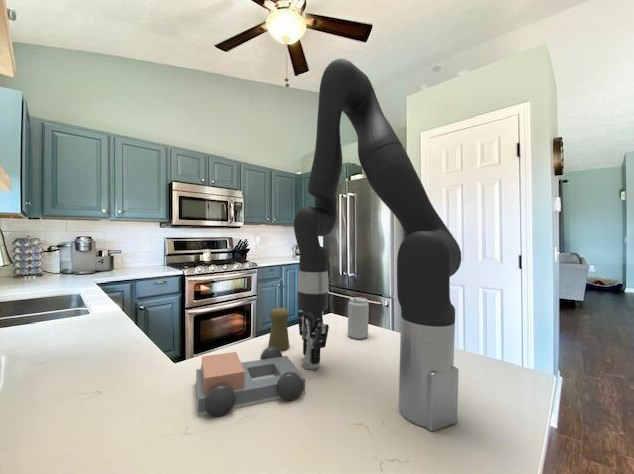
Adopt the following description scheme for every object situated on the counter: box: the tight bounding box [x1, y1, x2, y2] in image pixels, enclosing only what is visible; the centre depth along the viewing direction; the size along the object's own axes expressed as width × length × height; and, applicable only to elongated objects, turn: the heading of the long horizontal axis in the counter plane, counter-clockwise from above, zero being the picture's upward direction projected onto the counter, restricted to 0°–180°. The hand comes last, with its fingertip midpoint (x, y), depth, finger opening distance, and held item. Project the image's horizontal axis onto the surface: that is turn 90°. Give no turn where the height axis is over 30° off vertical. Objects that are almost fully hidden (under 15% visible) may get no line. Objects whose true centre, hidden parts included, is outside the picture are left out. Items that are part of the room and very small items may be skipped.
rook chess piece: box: [301, 332, 321, 370], centre depth 72 cm, size 4×4×8 cm
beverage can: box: [347, 296, 370, 340], centre depth 94 cm, size 6×6×12 cm
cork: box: [267, 307, 290, 353], centre depth 83 cm, size 6×6×11 cm
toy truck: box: [195, 347, 306, 418], centre depth 61 cm, size 15×20×6 cm
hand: (311, 358), depth 72 cm, fingers closed on rook chess piece, 4 cm apart
